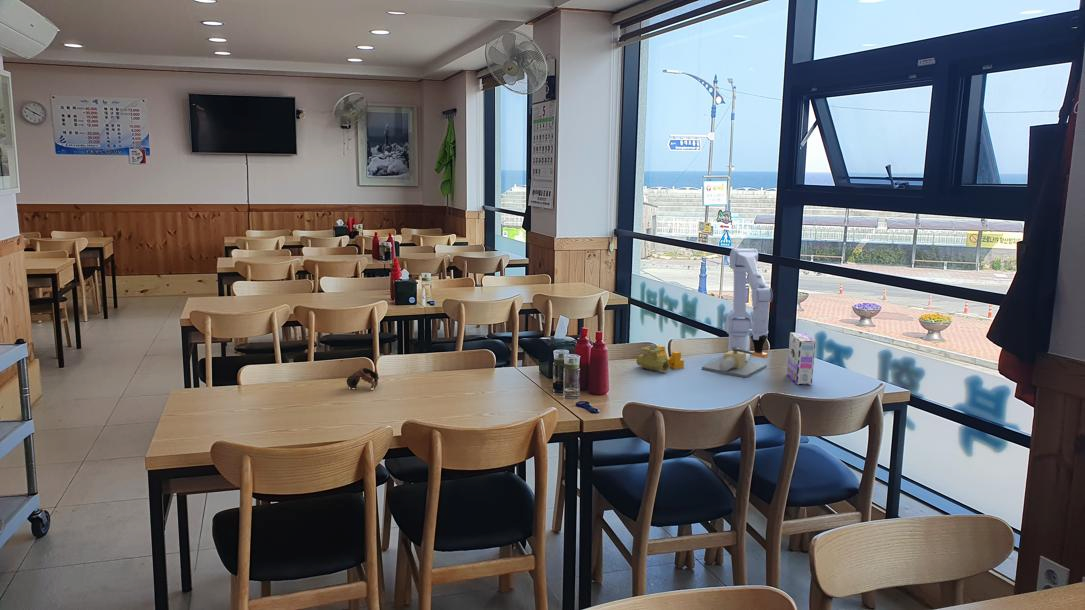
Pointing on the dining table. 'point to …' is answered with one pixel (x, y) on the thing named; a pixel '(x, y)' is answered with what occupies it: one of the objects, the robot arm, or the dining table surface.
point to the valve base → (735, 365)
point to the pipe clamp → (673, 358)
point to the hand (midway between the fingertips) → (758, 354)
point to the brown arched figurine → (355, 378)
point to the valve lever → (751, 352)
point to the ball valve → (653, 359)
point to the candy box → (801, 358)
